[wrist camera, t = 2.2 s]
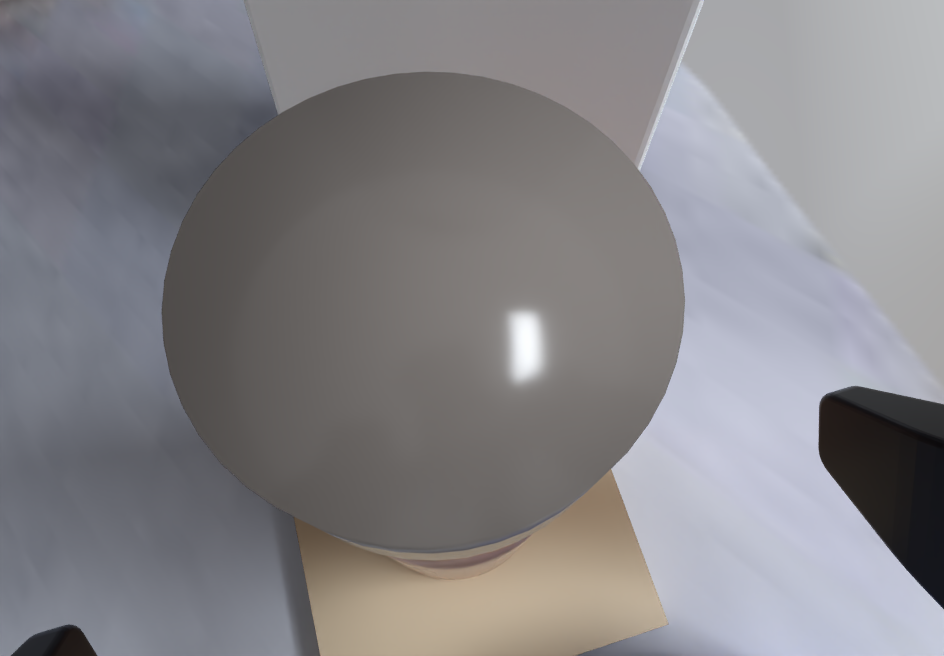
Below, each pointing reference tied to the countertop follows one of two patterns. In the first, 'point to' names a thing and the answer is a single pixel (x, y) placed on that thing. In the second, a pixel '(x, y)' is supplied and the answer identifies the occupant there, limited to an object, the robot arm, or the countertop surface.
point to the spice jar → (424, 314)
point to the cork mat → (490, 592)
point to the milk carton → (488, 50)
